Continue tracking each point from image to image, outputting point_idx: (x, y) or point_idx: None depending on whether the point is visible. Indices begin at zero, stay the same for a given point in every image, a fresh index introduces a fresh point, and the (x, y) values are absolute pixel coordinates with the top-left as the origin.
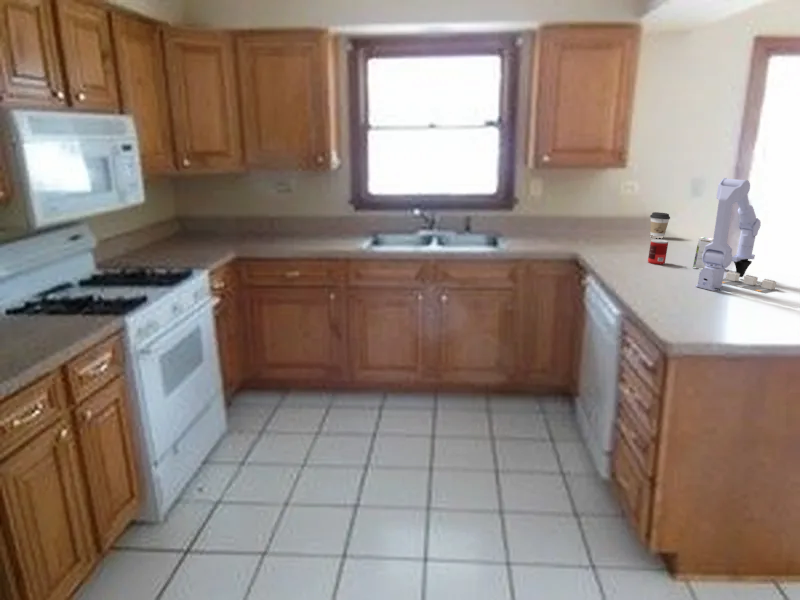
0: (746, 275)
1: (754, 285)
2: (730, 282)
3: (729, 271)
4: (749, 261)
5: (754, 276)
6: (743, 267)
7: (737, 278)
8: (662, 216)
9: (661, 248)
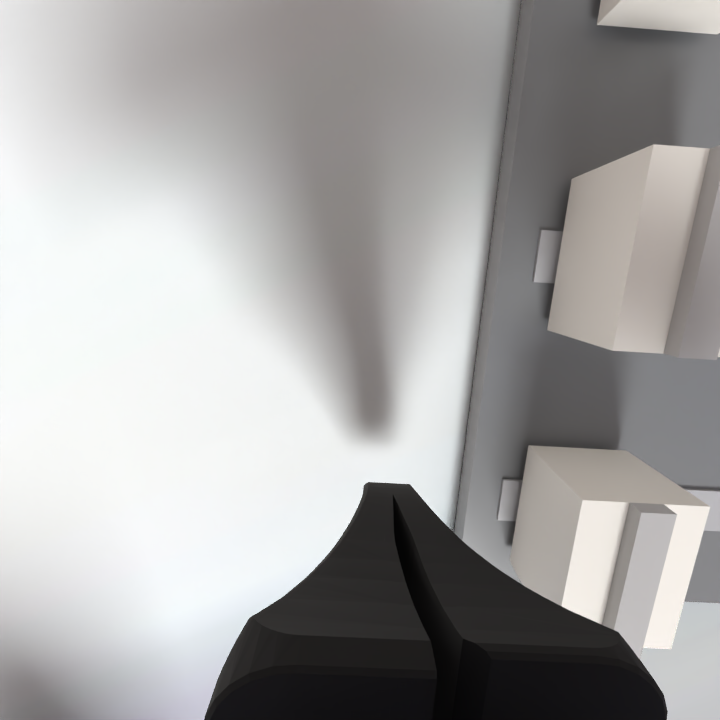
0: (714, 346)
1: None
2: (704, 458)
3: (642, 645)
4: (387, 698)
5: (717, 194)
6: (513, 586)
7: (586, 463)
8: None
9: None
